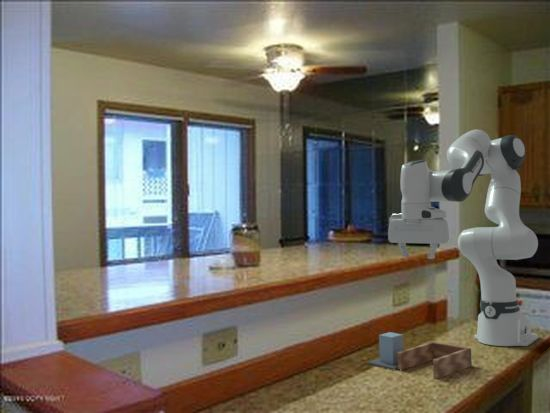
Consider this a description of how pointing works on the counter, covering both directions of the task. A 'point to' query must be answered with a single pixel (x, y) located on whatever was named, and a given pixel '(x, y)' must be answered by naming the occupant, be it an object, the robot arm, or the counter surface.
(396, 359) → the block
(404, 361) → the frame
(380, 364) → the pad
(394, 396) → the counter surface
